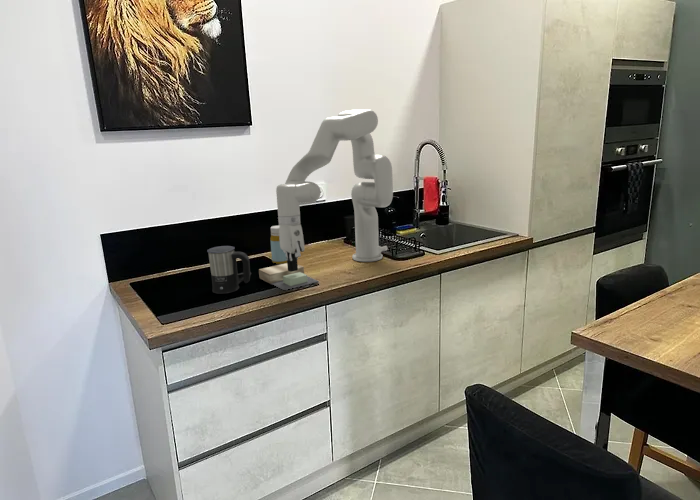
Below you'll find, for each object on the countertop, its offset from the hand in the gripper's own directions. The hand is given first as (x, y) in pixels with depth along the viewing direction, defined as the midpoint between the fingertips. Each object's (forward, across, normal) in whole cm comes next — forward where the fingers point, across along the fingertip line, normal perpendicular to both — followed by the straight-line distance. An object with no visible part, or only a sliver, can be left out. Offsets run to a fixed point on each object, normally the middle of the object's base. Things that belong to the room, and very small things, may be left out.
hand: (292, 270), depth 172 cm
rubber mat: (+5, -1, 0) cm, 5 cm away
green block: (+3, -1, 0) cm, 3 cm away
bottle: (+5, +27, -10) cm, 29 cm away
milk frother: (+5, +12, +18) cm, 22 cm away
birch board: (+5, +9, 0) cm, 10 cm away
